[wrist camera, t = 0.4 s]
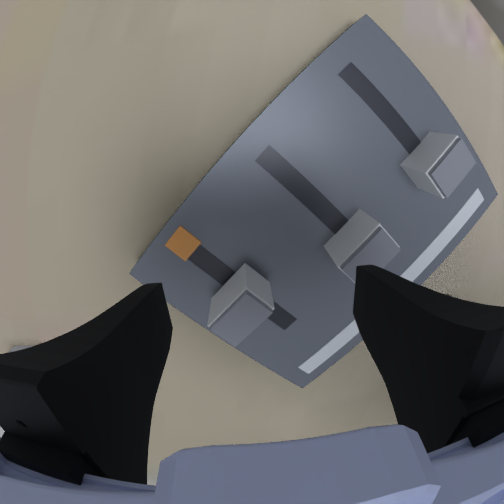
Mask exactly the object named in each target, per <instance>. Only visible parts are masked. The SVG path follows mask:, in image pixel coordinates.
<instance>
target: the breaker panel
mask: <svg viewBox="0 0 504 504" xmlns="http://www.w3.org/2000/svg"><path fill="white" fill-rule="evenodd" d="M497 195H498V194H497V192H496V190H495V188H494V186H493V184H492V182H491V180H490V178H489V176H488V174H487V172H486V170H485V168H484V166H483V164H482V163H481V161H480V159H479V157H478V155H477V154H476V152H475V150H474V148H473V147H472V145H471V143H470V142H469V140H468V138H467V137H466V135H465V134H464V132H463V130H462V129H461V127H460V126H459V124H458V123H457V121H456V120H455V118H454V117H453V115H452V114H451V112H450V111H449V109H448V108H447V106H446V105H445V104H444V102H443V101H442V99H441V98H440V97H439V95H438V94H437V93H436V91H435V90H434V89H433V87H432V86H431V85H430V83H429V82H428V81H427V80H426V78H425V77H424V76H423V75H422V73H421V72H420V71H419V70H418V69H417V67H416V66H415V65H414V64H413V63H412V61H411V60H410V59H409V58H408V57H407V56H406V55H405V53H404V52H403V51H402V50H401V49H400V48H399V47H398V46H397V45H396V44H395V42H394V41H393V40H392V39H391V38H390V37H389V36H388V35H387V34H386V33H385V32H384V31H383V30H382V29H381V28H380V27H379V26H378V25H377V24H376V23H375V22H374V21H373V20H372V19H371V18H370V17H369V16H368V15H367V14H365V15H364V16H363V17H362V18H360V19H359V20H358V21H357V22H355V23H354V24H353V25H352V26H351V27H350V28H349V29H347V30H346V31H345V32H344V33H343V34H342V35H341V36H339V37H338V38H337V39H336V40H335V41H334V42H333V43H332V44H331V45H330V46H328V47H327V48H326V49H325V50H324V51H323V52H322V53H321V54H320V55H319V56H318V57H317V58H316V59H315V60H313V61H312V62H311V63H310V64H309V65H308V66H307V67H306V68H305V69H304V70H303V71H302V72H301V73H300V74H299V75H298V76H297V77H296V78H295V79H294V80H293V81H292V82H291V83H290V84H289V85H288V86H287V87H286V88H285V89H284V90H283V91H282V92H281V93H280V94H279V95H278V96H277V97H276V98H275V99H274V100H273V101H272V102H271V103H270V104H269V105H268V106H267V107H266V108H265V109H264V111H263V112H262V113H261V114H260V115H259V116H258V117H257V118H256V119H255V120H254V121H253V122H252V123H251V124H250V125H249V127H248V128H247V129H246V130H245V131H244V132H243V133H242V134H241V135H240V136H239V138H238V139H237V140H236V141H235V142H234V143H233V144H232V145H231V146H230V148H229V149H228V150H227V151H226V152H225V153H224V154H223V156H222V157H221V158H220V159H219V160H218V161H217V162H216V164H215V165H214V166H213V167H212V168H211V169H210V171H209V172H208V173H207V174H206V175H205V176H204V178H203V179H202V180H201V181H200V182H199V184H198V185H197V186H196V187H195V188H194V190H193V191H192V192H191V193H190V195H189V196H188V197H187V198H186V199H185V201H184V202H183V203H182V204H181V206H180V207H179V208H178V209H177V211H176V212H175V213H174V214H173V216H172V217H171V218H170V219H169V221H168V222H167V223H166V225H165V226H164V227H163V228H162V230H161V231H160V232H159V234H158V235H157V236H156V238H155V239H154V240H153V242H152V243H151V244H150V246H149V247H148V248H147V250H146V251H145V252H144V254H143V255H142V256H141V258H140V259H139V260H138V262H137V263H136V265H135V266H134V267H133V269H132V270H131V272H130V273H129V274H130V275H132V276H133V277H134V278H136V279H137V280H138V281H140V282H141V283H142V284H144V285H145V284H147V283H162V286H163V290H164V294H165V299H166V301H167V302H168V303H170V304H171V305H172V306H174V307H175V308H177V309H178V310H179V311H181V312H182V313H184V314H185V315H187V316H188V317H189V318H191V319H192V320H194V321H195V322H197V323H198V324H200V325H201V326H203V327H204V328H206V329H207V330H209V329H210V327H208V326H207V325H208V318H209V311H210V304H211V298H212V297H213V296H214V295H215V294H216V293H217V292H218V291H219V290H220V289H221V287H222V286H223V285H224V284H225V283H226V282H227V281H228V280H229V279H230V278H231V277H232V276H233V275H234V274H235V273H236V272H237V271H238V270H239V269H240V268H241V266H242V265H243V264H244V263H246V264H247V265H249V266H250V267H251V268H252V269H254V270H255V271H256V272H257V273H259V274H260V275H261V276H263V277H264V278H265V279H266V280H268V281H269V282H270V286H271V291H272V297H273V302H274V308H275V309H274V310H273V311H272V312H273V313H272V314H271V315H270V316H269V317H268V318H267V319H266V320H265V321H264V322H262V323H261V324H260V325H259V326H258V327H257V328H256V329H255V330H254V331H253V332H252V333H250V334H249V335H248V336H247V337H246V338H245V339H244V340H243V341H242V342H240V343H239V344H238V345H237V346H236V347H235V348H236V349H238V350H239V351H241V352H242V353H244V354H246V355H247V356H249V357H250V358H252V359H254V360H255V361H257V362H259V363H260V364H262V365H263V366H265V367H267V368H268V369H270V370H272V371H273V372H275V373H277V374H279V375H280V376H282V377H284V378H285V379H287V380H289V381H291V382H292V383H294V384H296V385H297V386H299V387H301V388H303V387H305V386H306V385H307V384H309V383H310V382H311V381H313V380H314V379H315V378H317V377H318V376H319V375H320V374H322V373H323V372H324V371H326V370H327V369H328V368H329V367H331V366H332V365H333V364H334V363H336V362H337V361H338V360H339V359H341V358H342V357H343V356H344V355H345V354H347V353H348V352H349V351H350V350H351V349H353V348H354V347H355V346H356V345H357V344H358V343H360V342H361V341H362V340H363V338H362V336H361V334H360V332H359V330H358V327H357V324H356V321H355V318H354V315H353V303H354V292H355V279H356V266H361V265H375V266H378V267H381V268H383V269H385V270H388V271H390V272H392V273H394V274H396V275H398V276H401V277H403V278H405V279H407V280H409V281H412V282H414V283H416V284H418V285H421V284H422V283H423V282H424V281H425V280H426V279H427V278H428V277H429V276H430V275H431V274H432V273H433V272H434V271H435V270H436V269H437V267H438V266H439V265H440V264H441V263H442V262H443V261H444V260H445V259H446V258H447V256H448V255H449V254H450V253H451V252H452V251H453V250H454V249H455V247H456V246H457V245H458V244H459V243H460V242H461V240H462V239H463V238H464V237H465V236H466V234H467V233H468V232H469V231H470V230H471V228H472V227H473V226H474V225H475V224H476V222H477V221H478V220H479V218H480V217H481V216H482V215H483V213H484V212H485V211H486V210H487V208H488V207H489V206H490V204H491V203H492V202H493V200H494V199H495V198H496V196H497ZM209 331H210V330H209ZM210 332H211V331H210ZM212 333H213V332H212ZM213 334H214V333H213ZM215 335H216V334H215ZM216 336H217V335H216ZM218 337H219V336H218ZM219 338H220V337H219ZM221 339H222V338H221ZM222 340H224V339H222ZM224 341H225V340H224ZM225 342H227V341H225ZM227 343H228V342H227ZM228 344H230V343H228ZM230 345H231V344H230ZM231 346H233V345H231ZM233 347H234V346H233Z"/></svg>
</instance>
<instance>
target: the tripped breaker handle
mask: <svg viewBox="0 0 504 504" xmlns="http://www.w3.org/2000/svg"><path fill="white" fill-rule="evenodd" d="M274 309H275V308H274V302H273V297H272V291H271V286H270V282H269V281H268V280H266V279H265V278H264V277H263V276H261V275H260V274H259V273H257V272H256V271H255V270H254V269H252V268H251V267H250V266H249V265H247V264H246V263H244V264H243V265H242V266H241V268H240V269H239V270H238V271H237V272H236V273H235V274H234V275H233V276H232V277H231V278H230V279H229V280H228V281H227V282H226V283H225V284H224V285H223V286H222V287H221V289H220V290H219V291H218V292H217V293H216V294H215V295H214V296H213V297H212V298H211V304H210V311H209V318H208V325H207V326H208V327H210V329H209V330H210V331H211V332H213V333H214V334H216V335H217V336H219V337H220V338H222V339H224V340H225V341H227V342H228V343H230V344H231V345H233V346H234V347H236V346H237V345H238V344H239V343H240V342H242V341H243V340H244V339H245V338H246V337H247V336H248V335H249V334H250V333H252V332H253V331H254V330H255V329H256V328H257V327H258V326H259V325H260V324H261V323H262V322H264V321H265V320H266V319H267V318H268V317H269V316H270V315H271V314H272V313H273V312H272V311H273V310H274Z"/></svg>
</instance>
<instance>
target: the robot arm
mask: <svg viewBox="0 0 504 504" xmlns="http://www.w3.org/2000/svg"><path fill="white" fill-rule="evenodd" d="M353 315H354V318H355V321H356V324H357V327H358V330H359V332H360V334H361V336H362V338H363V340H364V342H365V344H366V346H367V348H368V350H369V352H370V354H371V356H372V358H373V359H374V361H375V363H376V365H377V367H378V369H379V371H380V373H381V375H382V377H383V380H384V382H385V384H386V387H387V390H388V393H389V396H390V399H391V402H392V405H393V408H394V411H395V415H396V418H397V422H398V424H395V425H386V426H374V427H367V428H363V429H358V430H353V431H348V432H343V433H338V434H332V435H326V436H320V437H313V438H306V439H298V440H290V441H281V442H270V443H257V444H238V445H211V446H203V447H195V448H187V449H182V450H180V451H177V452H176V453H174V454H172V455H171V456H169V457H167V458H166V459H164V460H162V461H161V462H160V467H159V473H158V478H157V484H156V486H154V485H147V461H148V445H149V435H150V426H151V419H152V412H153V405H154V401H155V397H156V393H157V390H158V386H159V383H160V379H161V376H162V373H163V370H164V366H165V363H166V360H167V356H168V353H169V349H170V343H171V337H172V329H173V327H172V323H171V319H170V315H169V311H168V307H167V303H166V299H165V294H164V290H163V286H162V283H147V284H145V285H143V286H141V287H139V288H138V289H136V290H135V291H133V292H132V293H130V294H129V295H128V296H126V297H125V298H123V299H122V300H121V301H119V302H118V303H116V304H115V305H114V306H112V307H111V308H109V309H108V310H106V311H105V312H103V313H101V314H100V315H98V316H97V317H95V318H94V319H92V320H91V321H89V322H87V323H85V324H84V325H82V326H80V327H78V328H76V329H74V330H72V331H70V332H68V333H66V334H64V335H61V336H59V337H57V338H54V339H52V340H50V341H47V342H44V343H41V344H39V345H36V346H32V347H29V348H26V349H22V350H18V351H14V352H9V353H4V354H0V426H1V427H2V428H3V430H4V431H5V432H4V434H3V436H2V438H0V504H504V307H500V306H491V305H485V304H479V303H475V302H470V301H465V300H461V299H458V298H454V297H451V296H448V295H445V294H441V293H439V292H436V291H433V290H431V289H428V288H426V287H423V286H421V285H418V284H416V283H414V282H412V281H409V280H407V279H405V278H403V277H401V276H398V275H396V274H394V273H392V272H390V271H388V270H385V269H383V268H381V267H378V266H375V265H361V266H356V279H355V292H354V303H353Z"/></svg>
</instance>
